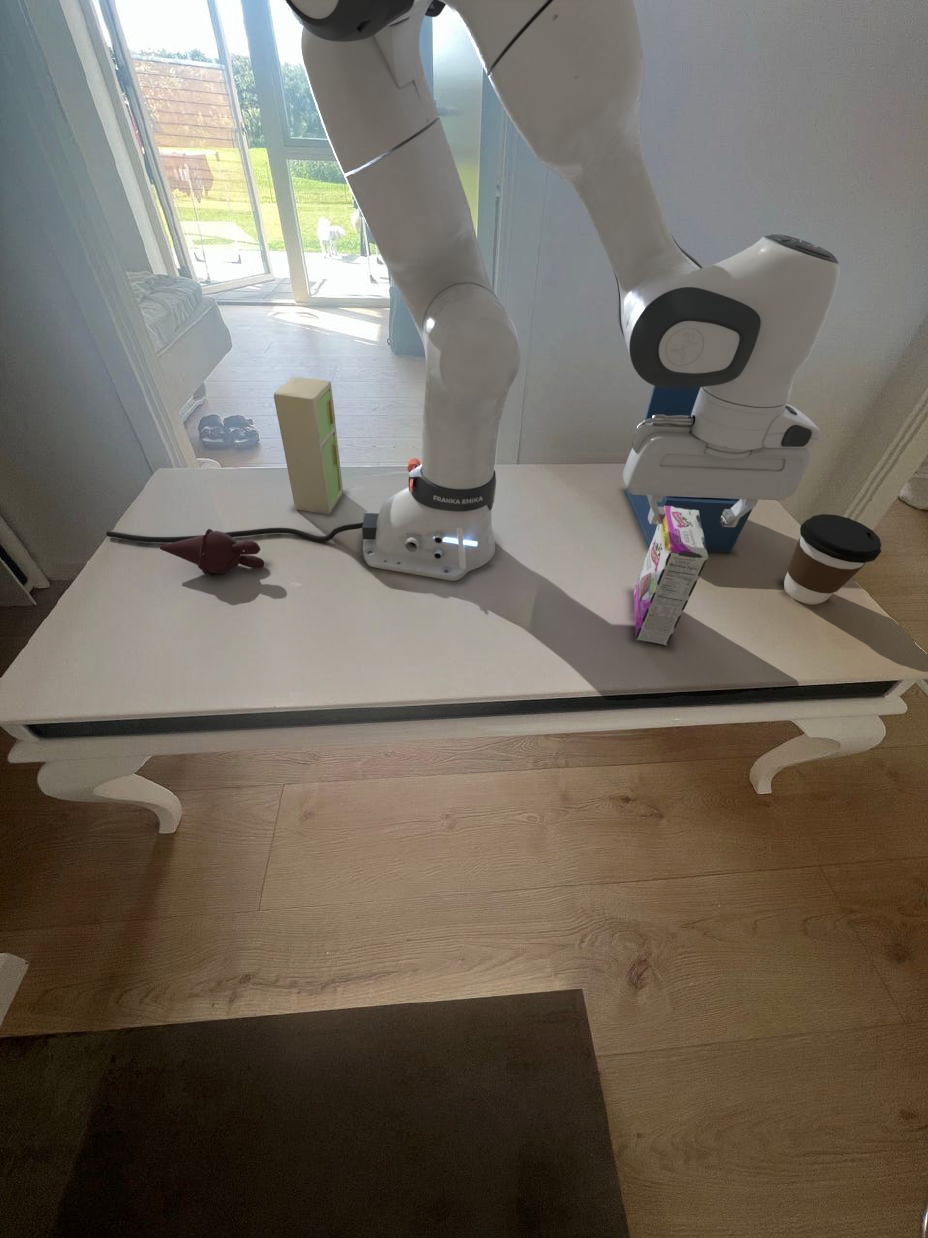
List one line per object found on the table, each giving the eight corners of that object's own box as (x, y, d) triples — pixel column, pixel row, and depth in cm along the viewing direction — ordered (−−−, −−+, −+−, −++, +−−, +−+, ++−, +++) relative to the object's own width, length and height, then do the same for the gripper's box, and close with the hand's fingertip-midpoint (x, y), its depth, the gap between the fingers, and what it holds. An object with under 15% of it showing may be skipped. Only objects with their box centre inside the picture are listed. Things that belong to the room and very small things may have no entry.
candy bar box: (630, 592, 84) (663, 503, 72) (662, 597, 83) (700, 508, 72) (632, 641, 76) (670, 550, 64) (668, 647, 75) (711, 556, 64)
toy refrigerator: (333, 515, 94) (317, 398, 80) (294, 510, 95) (271, 393, 80) (347, 493, 100) (335, 380, 86) (311, 488, 101) (292, 375, 86)
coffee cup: (829, 578, 89) (871, 518, 81) (848, 621, 82) (896, 560, 73) (762, 566, 91) (797, 506, 82) (775, 607, 83) (814, 546, 75)
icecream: (143, 552, 74) (253, 561, 76) (159, 513, 78) (263, 523, 80) (160, 580, 80) (261, 588, 82) (174, 542, 84) (271, 551, 86)
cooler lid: (759, 326, 87) (746, 321, 91) (672, 320, 87) (663, 315, 91) (716, 447, 100) (706, 439, 104) (639, 443, 99) (633, 434, 103)
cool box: (730, 552, 93) (754, 504, 86) (648, 548, 93) (666, 500, 86) (695, 494, 107) (714, 449, 100) (624, 490, 107) (638, 445, 100)
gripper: (647, 426, 55) (615, 534, 65) (837, 434, 56) (777, 540, 65) (633, 402, 60) (606, 506, 69) (809, 410, 60) (757, 512, 70)
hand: (690, 523), depth 67 cm, fingers open, 8 cm apart
